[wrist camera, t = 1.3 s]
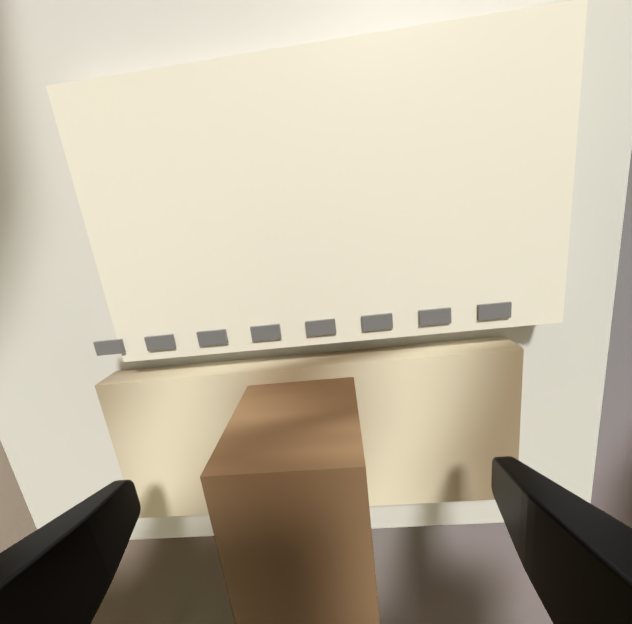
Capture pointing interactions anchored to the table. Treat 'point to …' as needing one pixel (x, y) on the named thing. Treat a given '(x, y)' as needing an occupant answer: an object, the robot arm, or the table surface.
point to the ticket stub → (313, 458)
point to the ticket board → (305, 207)
